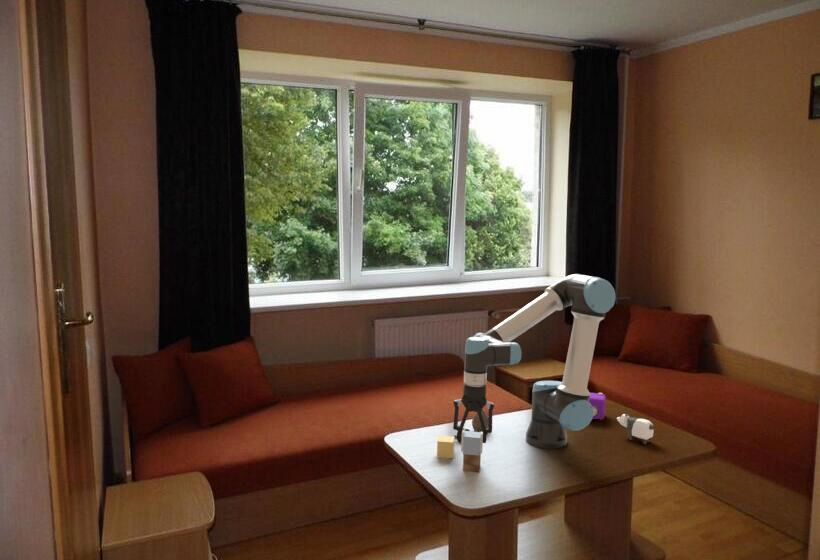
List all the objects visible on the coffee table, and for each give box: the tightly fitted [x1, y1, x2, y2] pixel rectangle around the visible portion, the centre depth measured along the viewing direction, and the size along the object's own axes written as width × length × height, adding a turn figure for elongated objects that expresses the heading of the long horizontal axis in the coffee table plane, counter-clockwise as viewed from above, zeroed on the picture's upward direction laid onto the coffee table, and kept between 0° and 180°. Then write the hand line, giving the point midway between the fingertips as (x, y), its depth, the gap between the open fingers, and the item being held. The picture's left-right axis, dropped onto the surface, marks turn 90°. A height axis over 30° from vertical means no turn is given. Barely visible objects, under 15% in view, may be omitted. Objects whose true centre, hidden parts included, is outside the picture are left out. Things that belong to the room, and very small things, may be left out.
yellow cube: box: [436, 435, 455, 459], centre depth 218 cm, size 6×6×6 cm
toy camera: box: [589, 392, 607, 420], centre depth 260 cm, size 11×14×10 cm
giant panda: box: [616, 412, 655, 442], centre depth 237 cm, size 15×6×10 cm, turn 43°
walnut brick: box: [462, 453, 482, 473], centre depth 208 cm, size 6×6×6 cm
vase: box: [471, 408, 488, 432], centre depth 242 cm, size 7×7×9 cm
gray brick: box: [462, 430, 481, 455], centre depth 207 cm, size 6×6×6 cm
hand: (471, 450), depth 207 cm, fingers open, 6 cm apart
